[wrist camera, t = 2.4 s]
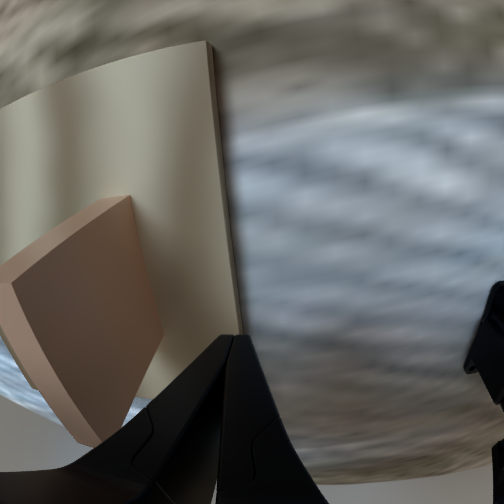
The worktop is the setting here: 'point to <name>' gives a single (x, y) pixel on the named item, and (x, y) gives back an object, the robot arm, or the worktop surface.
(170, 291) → the board
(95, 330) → the tile
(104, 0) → the worktop surface
